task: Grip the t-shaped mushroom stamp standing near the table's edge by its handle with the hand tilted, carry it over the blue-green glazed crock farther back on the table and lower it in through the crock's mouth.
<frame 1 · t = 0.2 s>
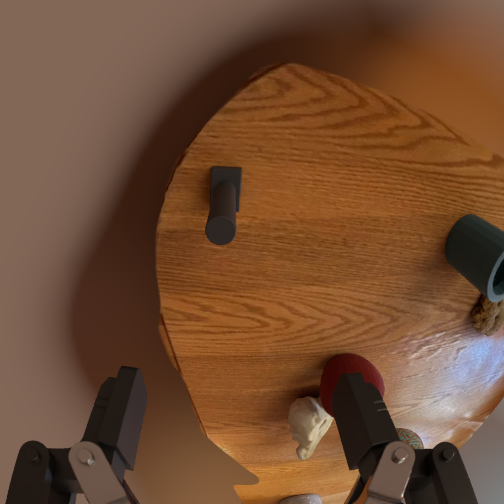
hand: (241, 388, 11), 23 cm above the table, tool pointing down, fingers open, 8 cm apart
decorative sphere: (385, 432, 58), on the table
pastry: (496, 298, 41), on the table
crock: (465, 241, 35), on the table
apple: (340, 361, 43), on the table
planter: (299, 498, 78), on the table
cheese: (311, 408, 48), on the table
t-shaped mushroom stamp: (225, 187, 30), on the table
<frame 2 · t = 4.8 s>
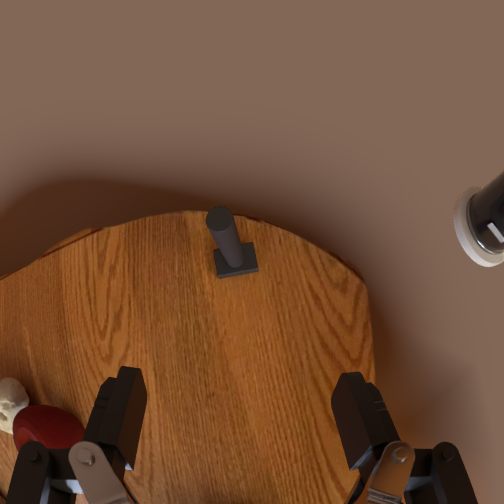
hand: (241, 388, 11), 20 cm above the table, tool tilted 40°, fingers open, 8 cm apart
apple: (74, 431, 28), on the table
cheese: (15, 409, 28), on the table
t-shaped mushroom stamp: (236, 262, 33), on the table
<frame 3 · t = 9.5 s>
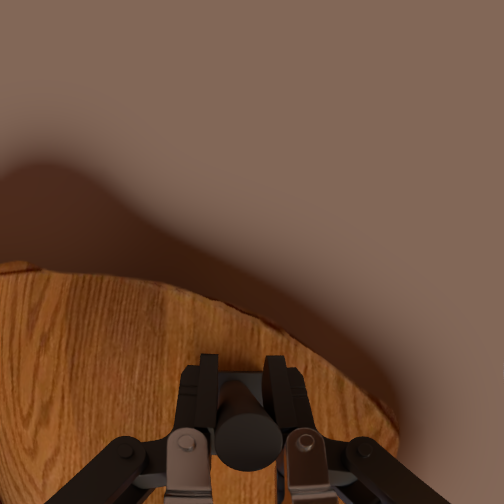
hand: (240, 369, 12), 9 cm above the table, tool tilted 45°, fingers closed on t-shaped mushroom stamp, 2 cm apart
t-shaped mushroom stamp: (232, 391, 19), on the table, touching gripper
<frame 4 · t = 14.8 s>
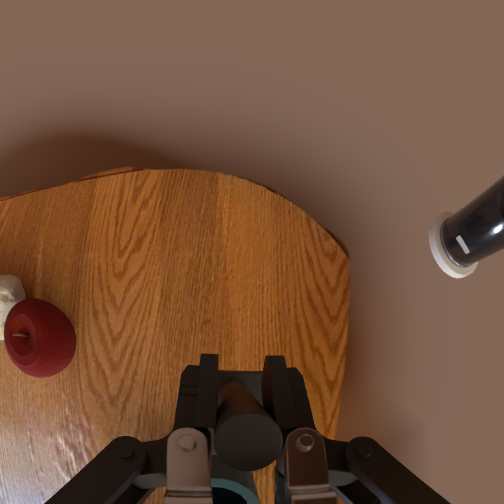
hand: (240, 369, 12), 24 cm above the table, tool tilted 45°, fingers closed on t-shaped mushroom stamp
crock: (217, 475, 29), on the table
apple: (61, 341, 32), on the table
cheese: (2, 315, 32), on the table
t-shaped mushroom stamp: (232, 390, 19), point 15 cm above the table, touching gripper
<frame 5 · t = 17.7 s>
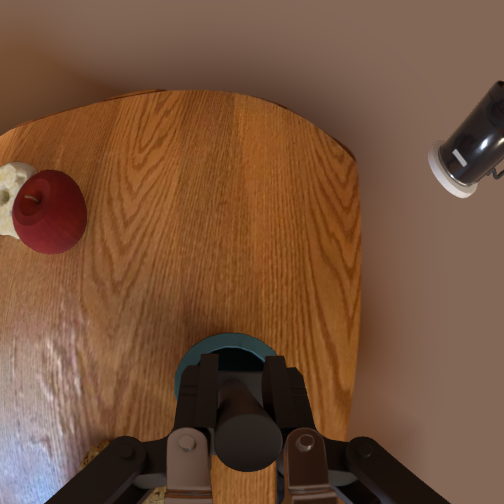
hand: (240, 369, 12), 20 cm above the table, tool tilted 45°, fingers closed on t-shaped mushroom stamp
pastry: (136, 496, 23), on the table
crock: (228, 377, 30), on the table
apple: (69, 232, 33), on the table
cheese: (9, 218, 33), on the table
t-shaped mushroom stamp: (232, 391, 19), point 11 cm above the table, touching gripper
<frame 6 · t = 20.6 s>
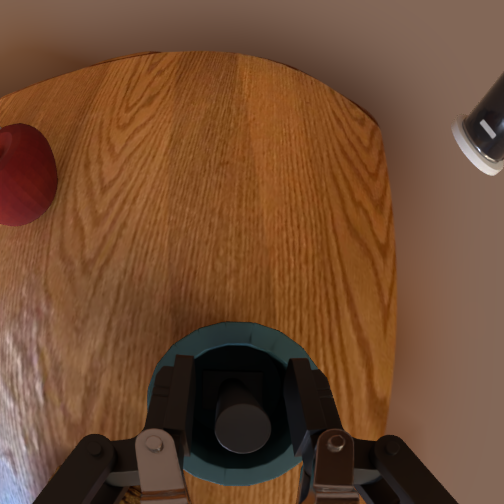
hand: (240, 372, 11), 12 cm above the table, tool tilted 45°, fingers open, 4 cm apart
crock: (231, 386, 22), on the table
apple: (38, 202, 25), on the table
t-shaped mushroom stamp: (231, 388, 21), point 1 cm above the table, touching crock
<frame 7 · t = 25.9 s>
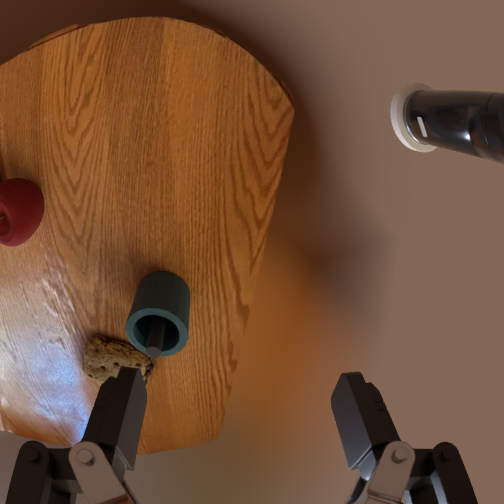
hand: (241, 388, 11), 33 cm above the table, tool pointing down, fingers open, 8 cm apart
pastry: (118, 363, 51), on the table
crock: (163, 294, 46), on the table
apple: (32, 200, 36), on the table
t-shaped mushroom stamp: (163, 297, 45), point 1 cm above the table, touching crock
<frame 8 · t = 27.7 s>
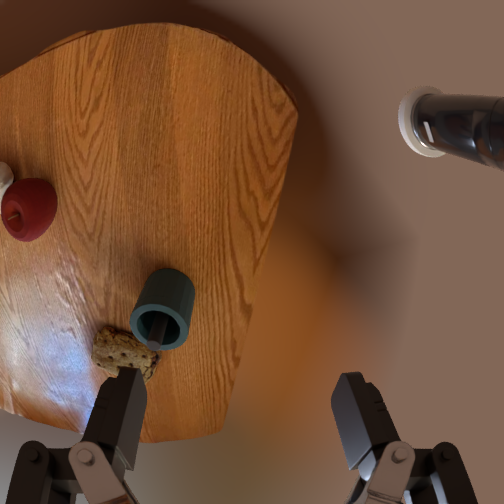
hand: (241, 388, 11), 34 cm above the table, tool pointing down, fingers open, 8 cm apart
pastry: (126, 354, 55), on the table
crock: (170, 290, 48), on the table
apple: (47, 198, 40), on the table
t-shaped mushroom stamp: (169, 293, 47), point 1 cm above the table, touching crock
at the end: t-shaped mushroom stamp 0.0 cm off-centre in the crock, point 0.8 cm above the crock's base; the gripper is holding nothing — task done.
